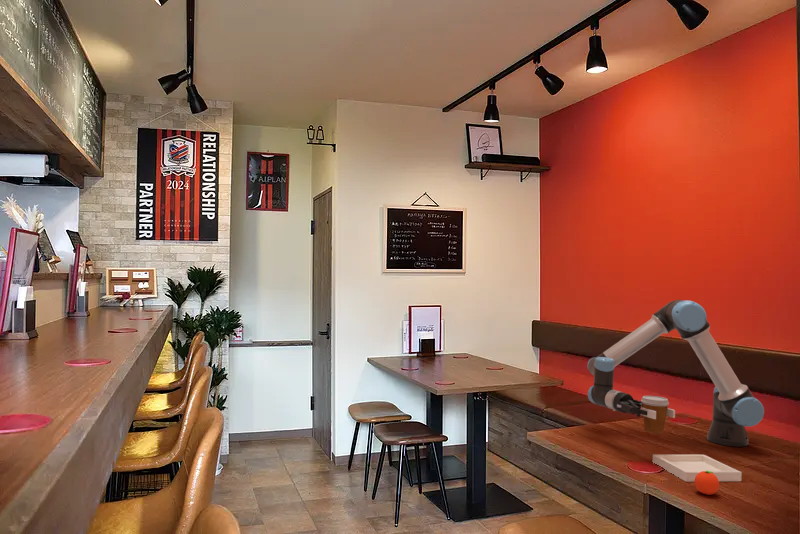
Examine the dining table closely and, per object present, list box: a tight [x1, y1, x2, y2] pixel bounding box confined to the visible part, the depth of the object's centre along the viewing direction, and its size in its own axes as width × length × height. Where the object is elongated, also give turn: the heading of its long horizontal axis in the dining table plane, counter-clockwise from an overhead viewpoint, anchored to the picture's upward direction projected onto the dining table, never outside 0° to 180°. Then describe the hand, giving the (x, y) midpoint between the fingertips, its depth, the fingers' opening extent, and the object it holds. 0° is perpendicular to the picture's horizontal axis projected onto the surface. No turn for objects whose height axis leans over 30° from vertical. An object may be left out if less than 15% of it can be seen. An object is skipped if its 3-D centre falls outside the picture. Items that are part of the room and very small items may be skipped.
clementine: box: [694, 471, 720, 496], centre depth 194 cm, size 8×7×7 cm
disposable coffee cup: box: [640, 395, 670, 434], centre depth 227 cm, size 10×10×12 cm
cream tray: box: [651, 454, 742, 483], centre depth 216 cm, size 20×20×3 cm
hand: (664, 414), depth 223 cm, fingers closed on disposable coffee cup, 8 cm apart
